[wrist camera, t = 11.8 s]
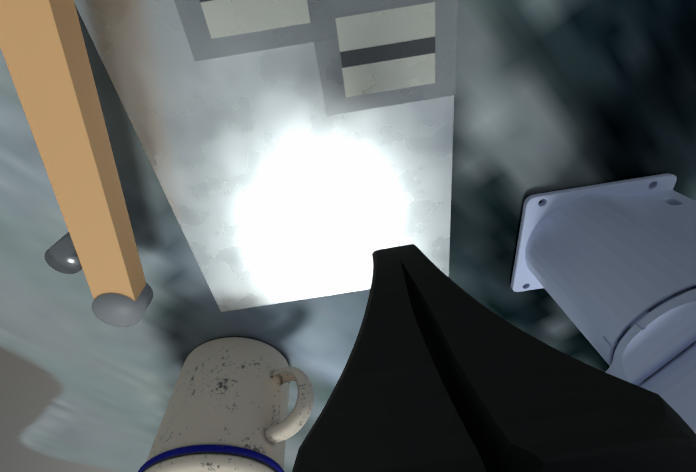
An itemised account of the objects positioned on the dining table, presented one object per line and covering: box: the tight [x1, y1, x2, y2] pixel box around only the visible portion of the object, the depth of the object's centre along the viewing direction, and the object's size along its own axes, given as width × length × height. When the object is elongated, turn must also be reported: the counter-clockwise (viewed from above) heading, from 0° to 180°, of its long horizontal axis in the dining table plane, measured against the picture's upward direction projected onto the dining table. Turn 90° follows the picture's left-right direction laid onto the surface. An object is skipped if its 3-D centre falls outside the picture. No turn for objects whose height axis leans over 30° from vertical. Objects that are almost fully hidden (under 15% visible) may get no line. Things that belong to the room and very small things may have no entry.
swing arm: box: [0, 0, 153, 327], centre depth 15 cm, size 20×3×4 cm, turn 173°
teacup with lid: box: [138, 337, 314, 472], centre depth 24 cm, size 12×9×12 cm
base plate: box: [45, 0, 458, 312], centre depth 17 cm, size 21×22×4 cm
